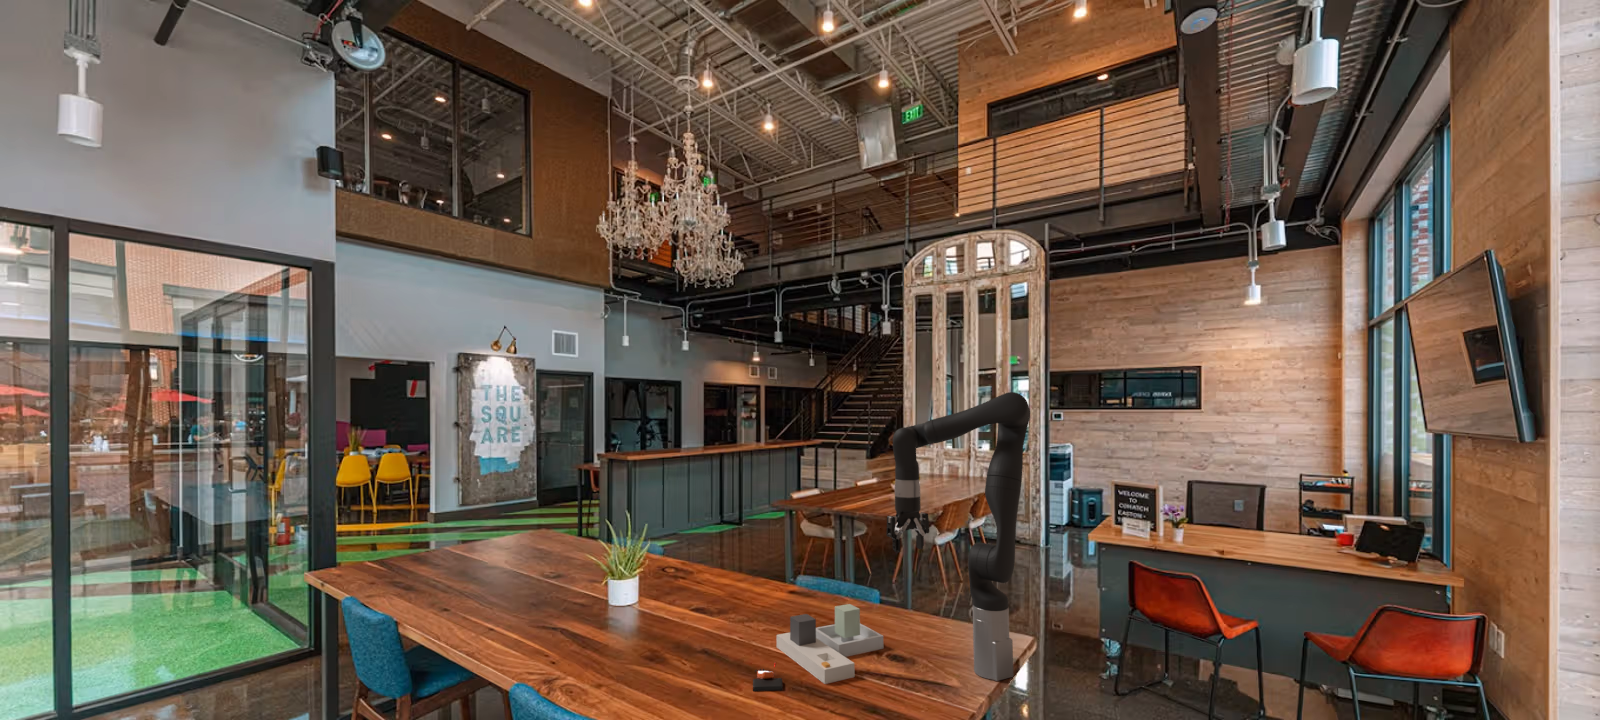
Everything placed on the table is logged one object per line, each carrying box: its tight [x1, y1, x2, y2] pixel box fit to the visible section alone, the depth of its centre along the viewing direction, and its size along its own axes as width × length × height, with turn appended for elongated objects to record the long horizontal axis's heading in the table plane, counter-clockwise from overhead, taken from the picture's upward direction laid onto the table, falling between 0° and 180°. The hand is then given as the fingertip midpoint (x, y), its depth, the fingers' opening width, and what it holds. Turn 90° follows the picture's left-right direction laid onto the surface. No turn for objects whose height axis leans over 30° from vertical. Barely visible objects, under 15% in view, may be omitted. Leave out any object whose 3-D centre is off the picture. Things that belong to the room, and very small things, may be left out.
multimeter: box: [752, 662, 784, 692], centre depth 162 cm, size 18×12×3 cm, turn 179°
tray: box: [816, 622, 884, 658], centre depth 184 cm, size 15×15×4 cm
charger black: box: [789, 613, 817, 646], centre depth 177 cm, size 5×5×9 cm
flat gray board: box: [776, 632, 856, 685], centre depth 172 cm, size 28×9×4 cm, turn 28°
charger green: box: [834, 603, 861, 642], centre depth 184 cm, size 5×5×10 cm
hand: (908, 550), depth 183 cm, fingers open, 8 cm apart
